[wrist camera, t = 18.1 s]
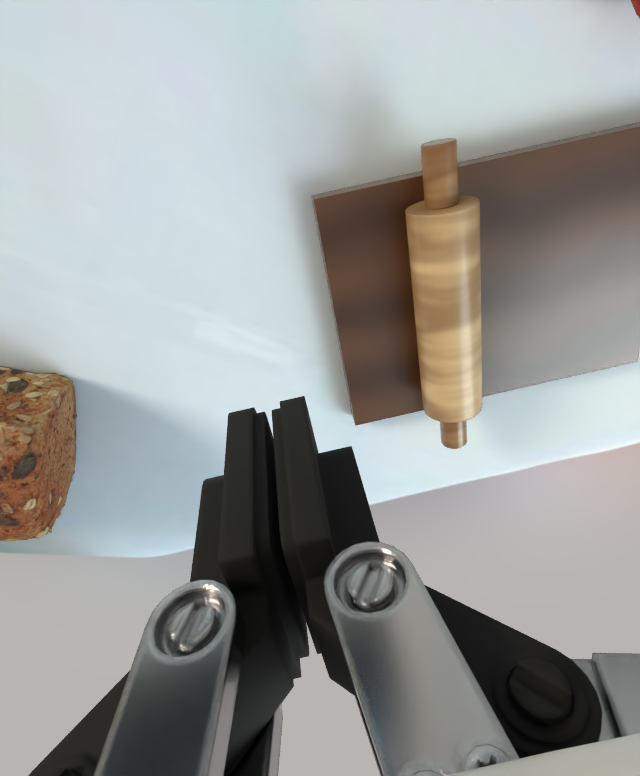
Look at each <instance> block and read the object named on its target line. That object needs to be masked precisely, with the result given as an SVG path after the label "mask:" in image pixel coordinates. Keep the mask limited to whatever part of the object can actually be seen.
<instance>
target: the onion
mask: <svg viewBox="0 0 640 776" xmlns="http://www.w3.org/2000/svg"><path fill="white" fill-rule="evenodd" d="M631 2H632V4H633V7H634V9H635V11H636V14H637V15H638V16H639V18H640V0H631Z"/></svg>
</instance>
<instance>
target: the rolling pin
mask: <svg viewBox="0 0 640 776" xmlns="http://www.w3.org/2000/svg"><path fill="white" fill-rule="evenodd" d="M421 158H422V173H423V187H424V201H421V202H418V203H415V204H413V205H411V206H409V207H408V208H407V209H406V211H405V214H406V225H407V236H408V247H409V258H410V269H411V280H412V291H413V302H414V313H415V324H416V335H417V346H418V357H419V368H420V379H421V390H422V401H423V409H424V411H425V413H426V414H427V415H428V416H429V417H431V418H432V419H435V420H437V421H440V429H441V442H442V444H443V445H444V446H445V447H447V448H451V449H457V448H461V447H463V446H464V445H465V444H466V443H467V426H466V420H469V419H471V418H473V417H475V416H476V415H477V414H478V413H479V412H480V411H481V409H482V338H481V260H480V200H479V199H478V198H477V197H473V196H466V195H458V166H457V140H456V139H455V138H446V139H439V140H434V141H430V142H426V143H424V144H422V145H421Z"/></svg>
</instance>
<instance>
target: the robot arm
mask: <svg viewBox="0 0 640 776" xmlns="http://www.w3.org/2000/svg"><path fill="white" fill-rule="evenodd" d="M272 422H273V436H272V432H271V429H270V426H269V422H268V419H267V416H266V413H265V412H261V413H256V411H255V409H254V408H249V409H245V410H241V411H236V412H232V413H229V415H228V426H227V440H226V454H225V468H224V475H222V476H218V477H213V478H209V479H205V481H204V482H203V486H202V493H201V500H200V508H199V516H198V524H197V532H196V540H195V548H194V556H193V563H192V572H191V579H190V583H187V584H185V585H183V586H181V587H179V588H177V589H175V590H173V591H172V592H171V593H170V594H168V595H167V596H166V597H165V598H163V599H162V601H161V602H160V603H159V604H158V605H157V607H156V608H155V609H154V610H153V612H152V614H151V616H150V618H149V620H148V622H147V624H146V627H145V629H144V632H143V635H142V638H141V641H140V644H139V647H138V650H137V652H136V655H135V658H134V661H133V664H132V667H131V670H130V671H129V672H128V673H127V674H126V675H125V676H124V677H123V678H122V679H121V681H119V682H118V683H117V684H116V685H115V686H114V688H113V689H112V690H111V691H110V692H109V693H108V694H107V695H106V696H105V697H104V698H103V699H102V700H101V701H100V702H99V703H98V704H97V705H96V706H95V707H94V708H93V709H92V710H91V711H90V712H89V713H88V714H87V715H86V716H85V718H83V719H82V720H81V722H80V723H79V724H78V725H77V726H76V727H75V728H74V729H73V730H72V731H71V732H70V733H69V734H68V735H67V736H66V737H65V738H64V739H63V740H62V741H61V742H60V743H59V744H58V745H57V746H56V747H55V748H54V749H53V751H51V752H50V754H49V755H48V756H47V757H46V758H45V759H44V760H43V761H42V762H41V763H40V764H39V765H38V766H37V767H36V768H35V769H34V770H33V771H32V772H31V773H30V775H29V776H278V769H279V757H280V745H281V732H282V720H283V715H282V704H281V703H282V702H283V700H284V699H285V698H286V696H287V695H288V693H289V692H290V691H291V689H292V688H293V686H294V684H293V679H295V678H299V677H301V669H300V658H303V657H307V656H309V645H308V636H307V626H306V622H307V625H308V628H309V631H310V634H311V637H312V640H313V643H314V646H315V649H316V651H317V654H320V653H322V656H323V659H324V662H325V665H326V668H327V671H328V674H329V677H330V678H331V679H332V680H333V681H335V682H336V683H338V684H339V685H340V686H342V687H343V688H345V689H346V690H348V691H349V692H350V693H352V694H353V695H355V699H356V702H357V705H358V708H359V711H360V714H361V717H362V720H363V723H364V727H365V729H366V733H367V736H368V739H369V742H370V745H371V748H372V751H373V754H374V757H375V760H376V764H377V767H378V770H379V773H380V776H640V654H632V653H631V654H630V653H628V654H627V653H624V654H623V653H593V654H592V659H570V658H568V657H566V656H565V655H563V654H562V653H560V652H559V651H557V650H555V649H553V648H551V647H549V646H547V645H545V644H543V643H541V642H539V641H537V640H535V639H533V638H531V637H529V636H527V635H525V634H523V633H521V632H519V631H517V630H515V629H513V628H511V627H509V626H507V625H504V624H502V623H501V622H499V621H497V620H494V619H492V618H490V617H488V616H486V615H484V614H482V613H480V612H478V611H476V610H474V609H472V608H470V607H468V606H466V605H464V604H462V603H460V602H458V601H456V600H454V599H452V598H450V597H448V596H446V595H444V594H442V593H440V592H438V591H436V590H434V589H431V588H429V587H427V586H425V585H424V584H423V582H422V580H421V579H420V577H419V575H418V573H417V572H416V569H415V568H414V566H413V564H412V563H411V561H410V560H409V559H408V558H407V556H406V555H405V554H404V553H403V552H402V551H400V550H398V549H397V548H395V547H394V546H391V545H388V544H385V543H382V542H379V539H378V536H377V532H376V529H375V525H374V522H373V519H372V515H371V511H370V508H369V504H368V501H367V498H366V494H365V491H364V487H363V484H362V480H361V477H360V474H359V470H358V467H357V463H356V460H355V456H354V453H353V450H352V447H351V446H350V447H345V448H341V449H336V450H332V451H328V452H323V453H319V454H318V450H317V446H316V441H315V437H314V433H313V429H312V425H311V421H310V417H309V413H308V409H307V405H306V401H305V397H304V396H302V397H298V398H294V399H289V400H285V401H280V408H279V409H275V410H272ZM273 437H274V439H273Z"/></svg>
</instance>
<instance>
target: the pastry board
mask: <svg viewBox="0 0 640 776" xmlns="http://www.w3.org/2000/svg"><path fill="white" fill-rule="evenodd" d="M457 166H458V195H466V196H473V197H477V198H478V199H479V200H480V260H481V338H482V397H483V396H487V395H492V394H496V393H501V392H505V391H509V390H514V389H518V388H523V387H527V386H531V385H536V384H540V383H545V382H549V381H553V380H558V379H562V378H567V377H571V376H575V375H580V374H584V373H589V372H593V371H597V370H602V369H606V368H611V367H615V366H619V365H624V364H628V363H633V362H637V361H638V356H639V351H640V122H639V123H635V124H630V125H626V126H621V127H617V128H612V129H608V130H603V131H599V132H594V133H590V134H585V135H581V136H576V137H572V138H567V139H563V140H559V141H554V142H550V143H545V144H541V145H536V146H532V147H527V148H523V149H518V150H514V151H509V152H505V153H500V154H496V155H491V156H487V157H482V158H478V159H473V160H469V161H465V162H460V163H457ZM311 197H312V202H313V208H314V213H315V219H316V224H317V229H318V235H319V240H320V245H321V251H322V256H323V261H324V267H325V272H326V277H327V283H328V288H329V294H330V299H331V304H332V310H333V315H334V320H335V326H336V331H337V336H338V342H339V347H340V352H341V358H342V363H343V369H344V374H345V379H346V385H347V390H348V395H349V401H350V406H351V411H352V416H353V419H354V422H355V425H360V424H364V423H369V422H373V421H377V420H382V419H386V418H391V417H395V416H399V415H404V414H408V413H413V412H417V411H421V410H424V409H423V401H422V390H421V379H420V368H419V357H418V346H417V335H416V324H415V313H414V302H413V291H412V280H411V269H410V258H409V247H408V236H407V225H406V214H405V211H406V209H407V208H408V207H409V206H411V205H413V204H415V203H418V202H421V201H424V187H423V173H422V171H420V172H415V173H411V174H406V175H402V176H397V177H393V178H388V179H384V180H379V181H375V182H371V183H366V184H362V185H357V186H353V187H348V188H344V189H339V190H335V191H330V192H326V193H321V194H317V195H312V196H311Z"/></svg>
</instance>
